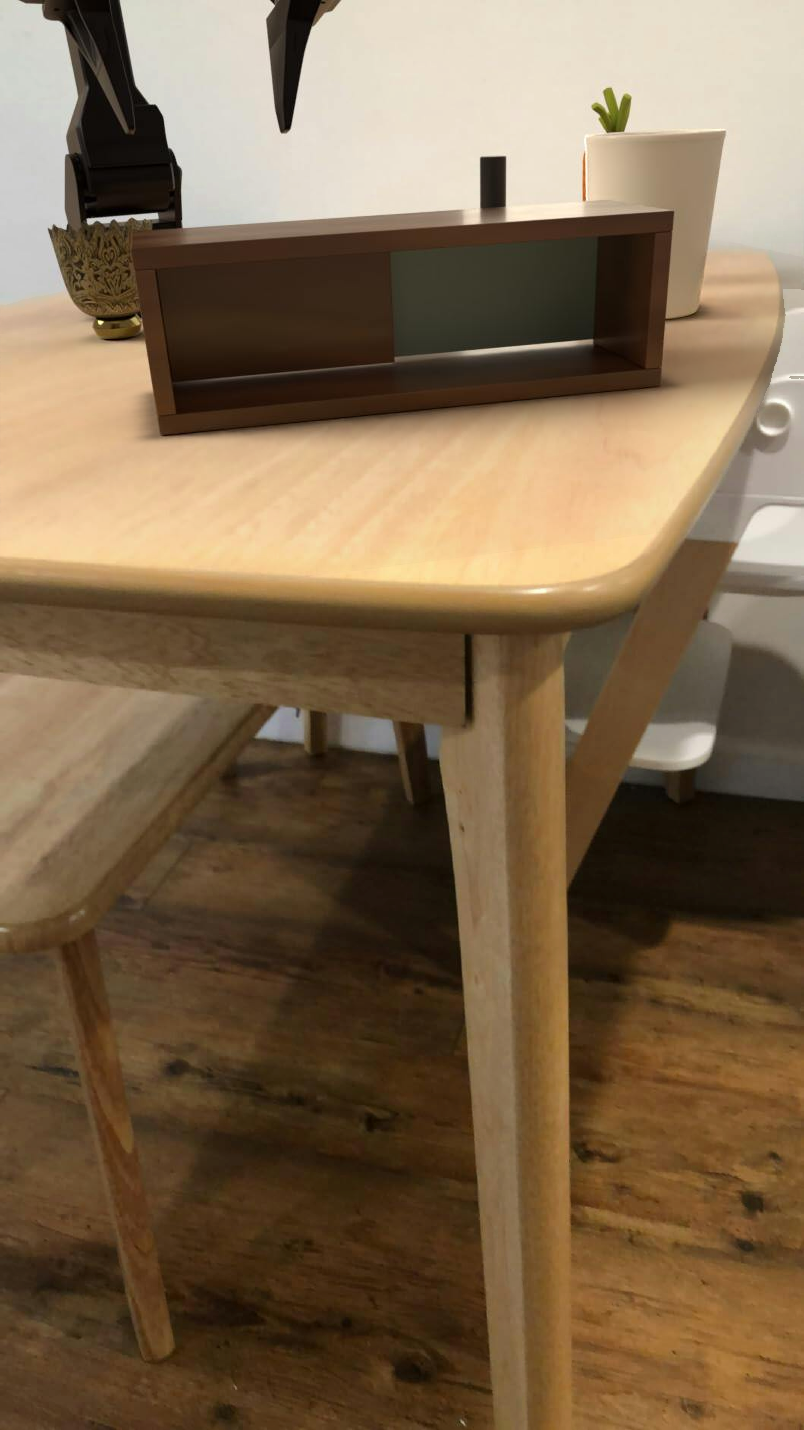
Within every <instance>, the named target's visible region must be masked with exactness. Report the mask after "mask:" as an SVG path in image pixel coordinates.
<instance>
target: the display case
mask: <svg viewBox="0 0 804 1430" xmlns="http://www.w3.org/2000/svg"><path fill="white" fill-rule="evenodd" d="M673 221H674V211H673V210H668V209H661V208H655V207H649V206H643V205H637V204H631V203H624V202H618V201H612V200H598V201H583V200H582V201H568V202H555V203H541V204H539V203H538V204H525V205H524V204H523V205H511V206H509V205H508V206H506V207H493V208H480V207H477V208H465V209H451V210H449V209H448V210H434V211H420V212H406V213H389V214H376V215H374V214H373V215H362V216H361V215H360V216H345V217H343V216H342V217H329V218H316V219H300V220H285V221H284V220H283V221H270V222H268V221H267V222H255V223H254V222H253V223H239V224H226V225H225V224H224V225H223V224H222V225H209V226H208V225H207V226H194V227H183V228H177V229H162V230H147V231H132V232H131V256H132V262H133V268H134V274H135V281H136V287H137V293H138V299H139V306H140V312H141V314H140V319H141V321H142V330H143V337H144V343H145V348H146V355H147V356H146V357H147V362H148V368H149V375H150V381H151V386H152V393H153V399H154V406H155V412H156V418H157V424H158V431H159V435H160V436H169V435H179V434H188V433H199V432H208V431H209V432H210V431H217V430H218V431H219V430H228V429H237V428H238V429H239V428H247V427H248V428H249V427H259V426H268V425H278V424H279V425H280V424H290V423H301V422H308V421H318V420H319V421H320V420H327V419H328V420H329V419H338V418H339V419H340V418H350V417H360V416H369V415H379V414H380V415H381V414H390V413H399V412H409V411H411V412H412V411H417V410H418V411H421V410H430V409H440V408H449V407H461V406H470V405H480V404H481V405H483V404H492V403H500V402H511V401H512V402H513V401H521V400H532V399H541V398H542V399H543V398H551V397H561V396H562V397H563V396H573V395H581V394H592V393H601V392H611V391H612V392H613V391H622V390H623V391H624V390H632V389H641V388H652V387H660V386H661V383H662V370H663V369H662V367H663V355H664V342H665V330H666V320H667V319H666V307H667V294H668V282H669V269H670V257H671V244H672V232H671V231H673ZM587 237H598V248H597V269H596V291H595V312H594V333H593V339H590V340H579V341H568V342H557V343H545V344H534V345H523V346H512V347H501V348H490V349H479V350H468V351H457V352H445V353H434V354H423V355H412V356H401V357H395V355H394V332H393V310H392V288H391V265H390V252H394V251H408V250H422V249H435V248H449V247H463V246H477V245H490V244H504V243H518V242H532V241H545V240H559V239H573V238H587Z"/></svg>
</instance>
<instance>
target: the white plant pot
mask: <svg viewBox="0 0 804 1430" xmlns="http://www.w3.org/2000/svg"><path fill="white" fill-rule="evenodd" d="M726 136H727V130H726V129H724V128H688V129H686V128H685V129H658V130H657V129H656V130H636V131H635V130H634V131H624V132H615V133H606V132H601V133H590V134H586V135H584V147H585V148H584V151H585V150H586V201H598V200H612V201H618V202H624V203H631V204H637V205H643V206H649V207H655V208H661V209H668V210H673V211H674V221H673V231H671V232H672V244H671V257H670V269H669V282H668V294H667V307H666V319H665V320H670V319H671V320H672V319H678V318H684V317H687V316H690V315H693V314H695V313H696V312H697V311H698V309H699V305H700V300H701V295H702V294H701V293H702V290H703V289H702V288H703V283H704V275H705V268H706V262H707V256H708V249H709V243H710V236H711V229H712V222H713V216H714V210H715V203H716V197H717V196H716V195H717V189H718V183H719V176H720V170H721V163H722V156H723V151H724V144H725V140H726Z"/></svg>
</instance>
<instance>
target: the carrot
mask: <svg viewBox="0 0 804 1430" xmlns="http://www.w3.org/2000/svg"><path fill="white" fill-rule="evenodd" d="M602 95H603V97H604V102H605V105H606V107H607V109H606V107H604V106H603V104H600V103H599V102H598V101H595V102H593V103H592V104H591V107H590V108H591V109H592V111H594V112H595V113H596V114H598V115H599V117H597V120H598V121H599V123H600V124H601V126H602V128H603V129H604V131H605V133H615V132H626V128H627V124H628V121H629V118H630V112H631V107H632V106H631V105H632V98H633V97H632V96H631V95H630V94H629V93H624V94H623V95H622V98H621V100H620V102H619V106H618V101H617V98H616V96H615V92H614V89H613V88H612V87H606V88H605V89H603V90H602ZM581 182H582V186H581V187H582V189H581V190H582V202H583V201H586V150H585V149H584V153H583V156H582V181H581Z"/></svg>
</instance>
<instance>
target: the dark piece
mask: <svg viewBox="0 0 804 1430" xmlns="http://www.w3.org/2000/svg"><path fill="white" fill-rule="evenodd" d="M493 207H507V155H504V154H503V155H483V156H480V157H479V208H493ZM597 248H598V237H587V238H573V239H559V240H545V241H532V242H518V243H504V244H490V245H477V246H463V247H449V248H435V249H422V250H408V251H394V252H390V265H391V288H392V310H393V332H394V355H395V357H401V356H412V355H423V354H434V353H445V352H457V351H468V350H479V349H490V348H501V347H512V346H523V345H534V344H545V343H557V342H568V341H579V340H590V339H593V333H594V312H595V291H596V269H597Z"/></svg>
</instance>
